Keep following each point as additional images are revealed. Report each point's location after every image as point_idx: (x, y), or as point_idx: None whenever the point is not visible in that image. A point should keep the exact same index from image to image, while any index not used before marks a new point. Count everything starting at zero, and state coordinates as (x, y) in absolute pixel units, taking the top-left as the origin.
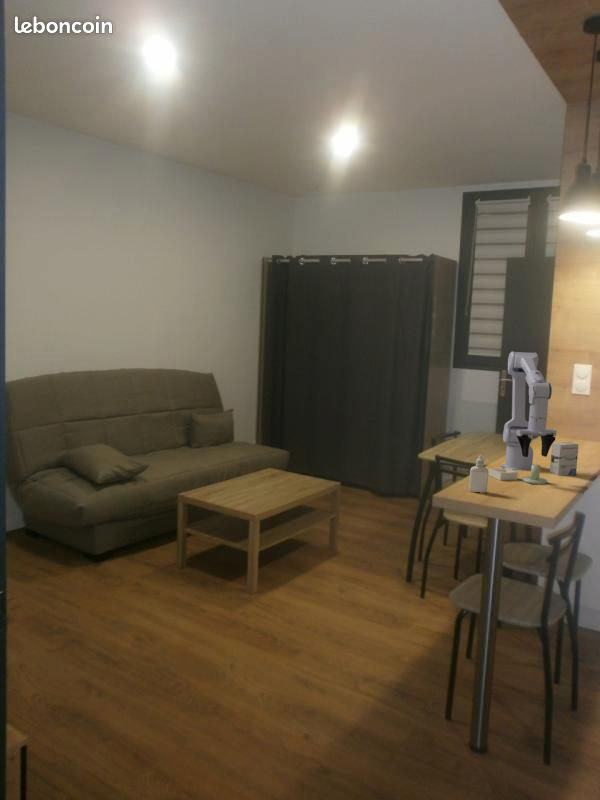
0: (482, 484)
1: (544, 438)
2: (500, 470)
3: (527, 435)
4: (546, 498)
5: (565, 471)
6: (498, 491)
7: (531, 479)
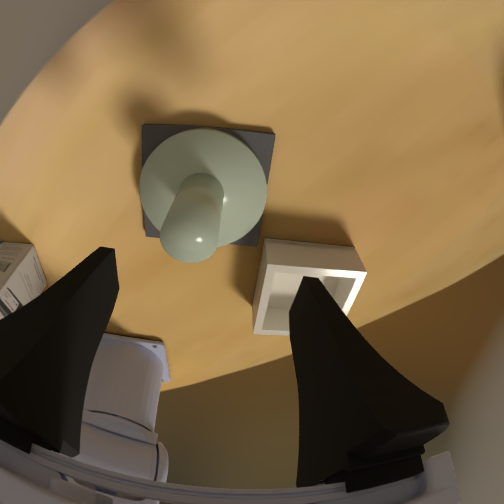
0: None
1: (60, 419)
2: (284, 323)
3: (361, 482)
4: None
5: (2, 252)
6: (482, 142)
7: (223, 195)
